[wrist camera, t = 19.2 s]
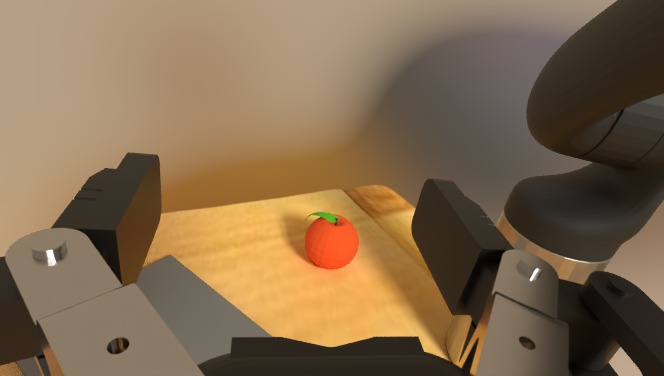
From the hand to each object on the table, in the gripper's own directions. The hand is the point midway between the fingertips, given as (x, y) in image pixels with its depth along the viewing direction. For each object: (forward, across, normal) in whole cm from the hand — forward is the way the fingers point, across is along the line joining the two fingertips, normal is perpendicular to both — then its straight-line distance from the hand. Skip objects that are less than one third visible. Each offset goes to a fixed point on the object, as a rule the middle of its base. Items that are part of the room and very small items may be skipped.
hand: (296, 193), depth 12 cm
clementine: (+30, -9, +28) cm, 42 cm away
